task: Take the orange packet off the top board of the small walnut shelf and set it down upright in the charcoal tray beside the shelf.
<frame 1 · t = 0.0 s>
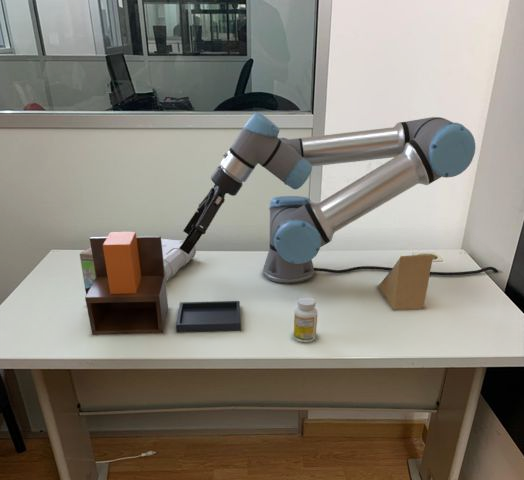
hand: (185, 242, 139), 15 cm above the table, tool tilted 35°, fingers open, 13 cm apart
tea box: (116, 296, 147), on the table
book: (157, 267, 165), on the table
tray: (209, 319, 135), on the table
packet: (126, 286, 128), point 10 cm above the table, touching shelf
sandwich container: (399, 297, 146), on the table
shelf: (132, 321, 134), on the table
supplement bottle: (304, 338, 127), on the table
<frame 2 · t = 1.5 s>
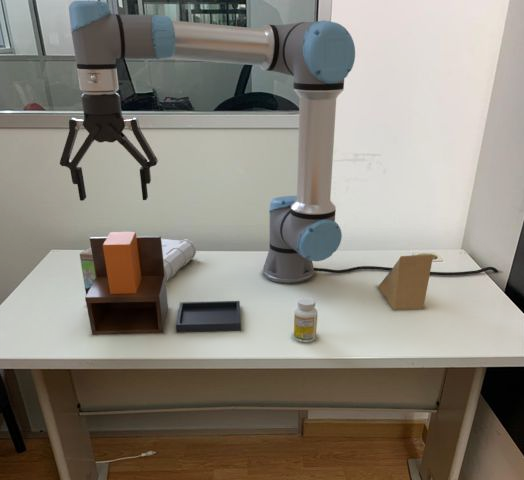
hand: (114, 198, 117), 31 cm above the table, tool pointing down, fingers open, 13 cm apart
nothing on the table moved.
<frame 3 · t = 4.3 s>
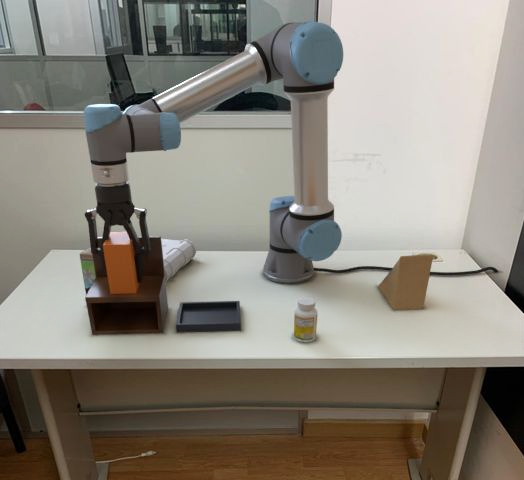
hand: (125, 280, 127), 11 cm above the table, tool pointing down, fingers closed on packet, 6 cm apart
packet: (126, 286, 128), point 10 cm above the table, touching gripper, shelf
everything else where it was.
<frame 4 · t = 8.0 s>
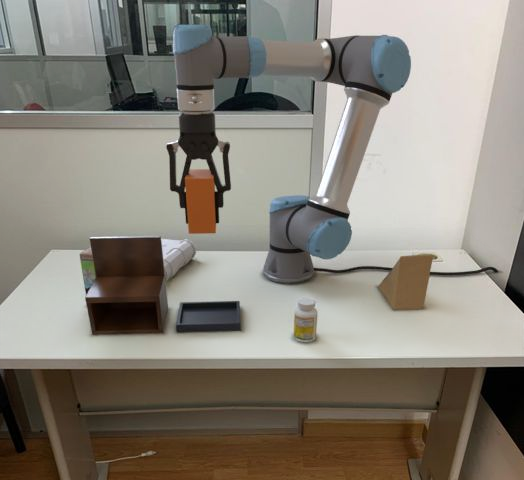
hand: (202, 221, 121), 25 cm above the table, tool pointing down, fingers closed on packet, 6 cm apart
packet: (203, 227, 122), point 24 cm above the table, touching gripper
everything else where it was.
when the fingers open (2 cm above the table, at t = 11.9 s): packet stays where it is, resting on tray.
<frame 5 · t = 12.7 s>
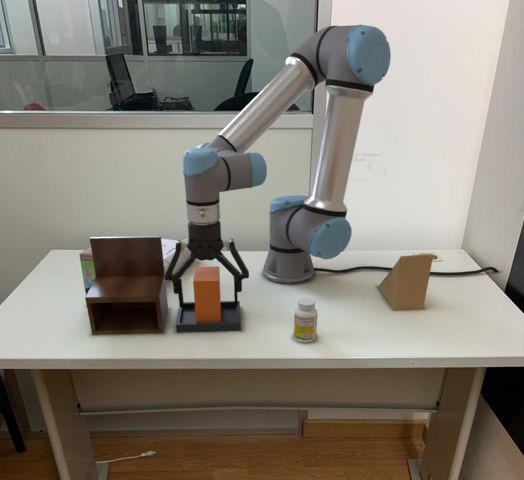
hand: (208, 304, 132), 4 cm above the table, tool pointing down, fingers open, 13 cm apart
packet: (209, 317, 134), point 1 cm above the table, touching tray
everything else where it was.
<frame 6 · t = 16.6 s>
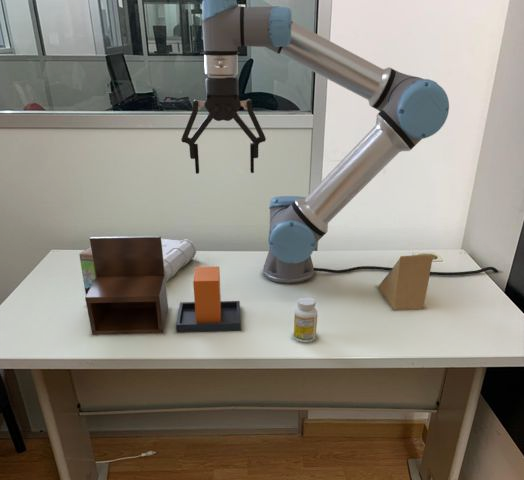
hand: (224, 172, 132), 33 cm above the table, tool pointing down, fingers open, 13 cm apart
nothing on the table moved.
at the end: packet inside the target area in the tray (0.1 cm from its centre), point 0.6 cm above the tray's base; packet tilted 0°; the gripper is holding nothing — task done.
